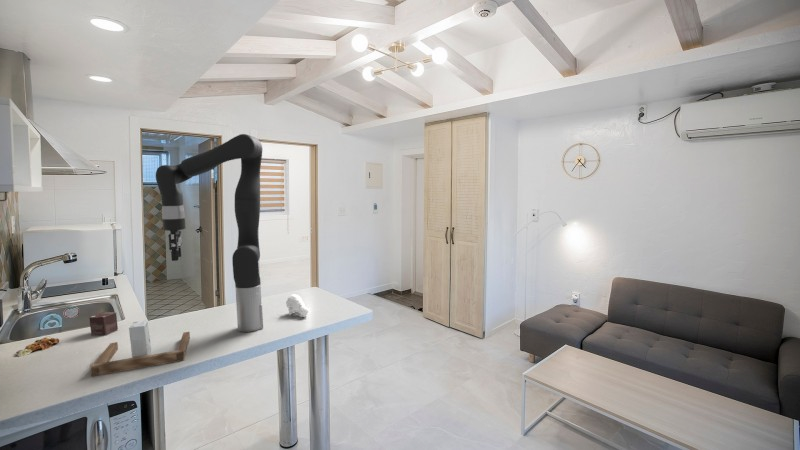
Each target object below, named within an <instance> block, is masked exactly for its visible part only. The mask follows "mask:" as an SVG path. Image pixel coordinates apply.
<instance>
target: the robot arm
mask: <svg viewBox="0 0 800 450" xmlns="http://www.w3.org/2000/svg"><path fill="white" fill-rule="evenodd" d="M262 158H263V145H262V143H261V141H260V139H258V138H256V137H255V136H252V135H250V134H246V133H242V134H241V133H240V134H238V135H236V136H234V137H231V138H230V139H229V140H227V141H225V142H224V143H222V144H220V145H218V146H216V147H214V148H211V149H209V150H207V151H205V152H202V153H199V154H196V155H193V156H190V157H187V158H185V159H183V160H182V161H181V162H180V163H179V164H175V165H168V164H163V165H160V166H158V168H157V169H156V172H155V181H156V184H157V187H158V191H159V193H160V195H161V217H162V219H161V220H162V229H163V230H164V231H167V232H169V233H170V234H168V245H169V246H168V247H169V248H168V249H169V251H170V253H171V255H170V256H171V261H173V262H176V261H178V260H180V259H179V258H181V257H182V246H183V243H182V241H183V240H182V237H183V236H182V231H181V230H186V229H187V228H186V213H185V209H184V197H183V193H182V191H180V190H179V189H177V184H181V183H183V182H186V181H188V180H190V179H191V178H194V177H196V176H199V175H202V174H205V173H207V172H209V171H212V170H214V169H215V168H216V167H218V166H220V165H222V164H223V163H226V162H230V161H234V160H239V159H240V167H241V168H240V170H241V171H240V176H239V179H238V182H237V185H236V188H235V191H234V192H235V193H234V215H235V221H236V225H237V233H238V235H237V238H238V239H237V246H236V249H235V250H234V252H233V254H232V275H233V280H234V281H233V282H234V286H235V302H236V303H235V304H236V306H235V307H236V321H237V323H236V324H237V331H239V332H242V333H248V332H249V333H251V332H254V331H258V330H261V329H264V316H263V315H264V314H263V303H262V287H261V285H262V283H261V282H262V281H261V277H260V267H259V266H260V265H259V261H260V258H261V252H260V242H259V225H260V215H261V167H262V166H261V164H262Z"/></svg>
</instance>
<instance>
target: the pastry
mask: <svg viewBox="0 0 800 450" xmlns="http://www.w3.org/2000/svg"><path fill="white" fill-rule="evenodd" d="M60 342H61V340H60V339H59V338H58V337H56V338H54V337H51V336H45V337H43V338H40V339H39V338H38V339H36V340H35V341H34V342H33V343H31V344H28V345H26V346H25V348H24V349H19V350H17V351H16V353H15V354H14V357H15V356H18V357H24V356H27V355H29V354H31V353H32V352H33V351H36V350H39V349H41V350H42V351H45V350H48V349H50V348H53V347H52V346H53V344H55V343H56V344H60Z"/></svg>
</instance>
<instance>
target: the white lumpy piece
mask: <svg viewBox="0 0 800 450" xmlns="http://www.w3.org/2000/svg"><path fill="white" fill-rule="evenodd" d="M285 303H286V307H287V309H288V315H289V316H292V315H293V313H297V314H298V316H299V317H300V318H306V317H307V315H308V313H309V309H308V307H306V304H305V303H304V301H303V299H302V297H301V296H299V295H298V294H297V293H296V294H295V293H294V294H290V295H289V296H288V297H287V300H286V302H285Z"/></svg>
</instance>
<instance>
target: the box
mask: <svg viewBox="0 0 800 450" xmlns="http://www.w3.org/2000/svg"><path fill="white" fill-rule="evenodd" d="M89 326H90V333H91V334H90V335H91V336H107V335H110V334H112V333H114V332H116V331H118V330H119V327H118V316H117V312H115V311H114V312H113V311H111V312H109V311H107V312H106V311H105V312H104V311H101V312H99V313H96V314H94V315H92V316H90V317H89Z"/></svg>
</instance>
